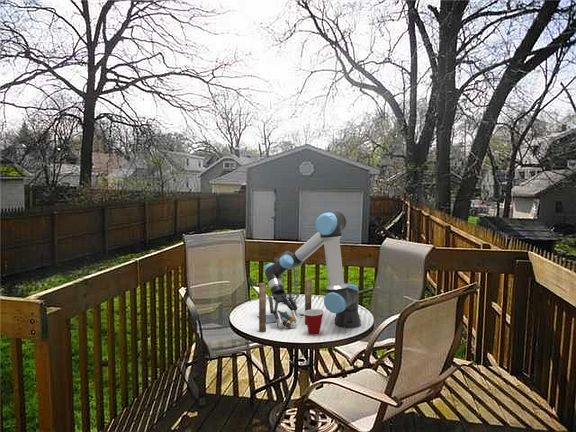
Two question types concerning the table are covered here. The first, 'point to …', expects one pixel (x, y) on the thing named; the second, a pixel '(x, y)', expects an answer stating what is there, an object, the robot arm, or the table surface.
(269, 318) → the grey mat
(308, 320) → the plastic cup
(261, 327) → the post gap
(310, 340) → the table surface
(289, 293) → the geometric lantern
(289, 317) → the binoculars
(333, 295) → the robot arm
